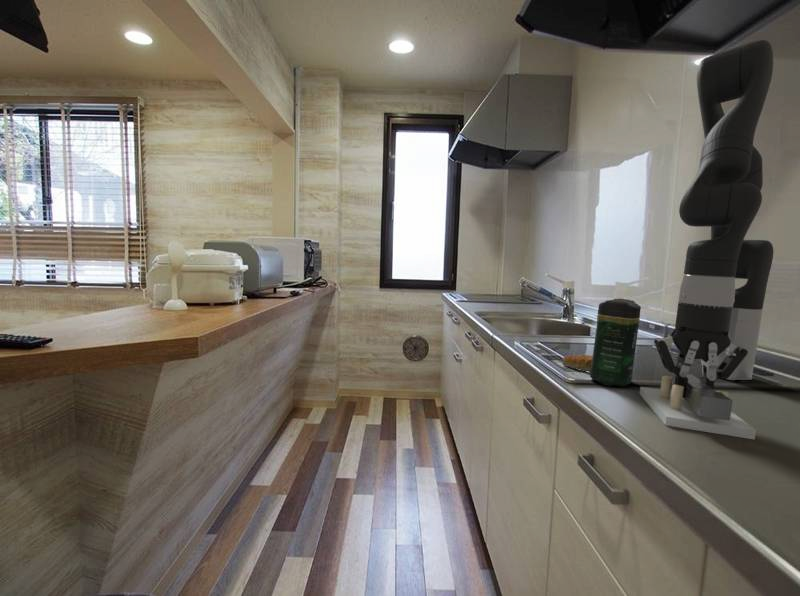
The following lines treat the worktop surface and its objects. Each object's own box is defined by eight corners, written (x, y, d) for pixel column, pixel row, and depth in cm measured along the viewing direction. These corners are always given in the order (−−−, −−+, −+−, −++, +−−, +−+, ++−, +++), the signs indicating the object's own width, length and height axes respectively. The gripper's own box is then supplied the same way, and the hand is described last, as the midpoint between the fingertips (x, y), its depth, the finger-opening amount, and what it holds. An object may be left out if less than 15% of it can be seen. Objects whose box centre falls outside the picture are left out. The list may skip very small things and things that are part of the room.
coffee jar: (626, 390, 81) (637, 302, 79) (585, 381, 86) (595, 297, 84) (635, 380, 88) (645, 299, 86) (597, 372, 93) (605, 295, 91)
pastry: (557, 366, 97) (559, 351, 97) (567, 362, 102) (569, 348, 102) (597, 376, 91) (599, 360, 91) (606, 371, 96) (608, 356, 95)
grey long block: (669, 388, 75) (671, 372, 75) (693, 391, 74) (696, 375, 73) (699, 415, 62) (702, 396, 61) (729, 420, 60) (732, 400, 60)
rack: (639, 393, 79) (642, 367, 79) (709, 403, 76) (713, 376, 75) (665, 425, 64) (669, 393, 63) (754, 439, 60) (760, 405, 60)
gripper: (743, 303, 69) (728, 397, 71) (652, 296, 73) (641, 385, 75) (767, 308, 62) (750, 412, 64) (665, 300, 66) (653, 398, 68)
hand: (691, 397), depth 70 cm, fingers closed on grey long block, 2 cm apart
